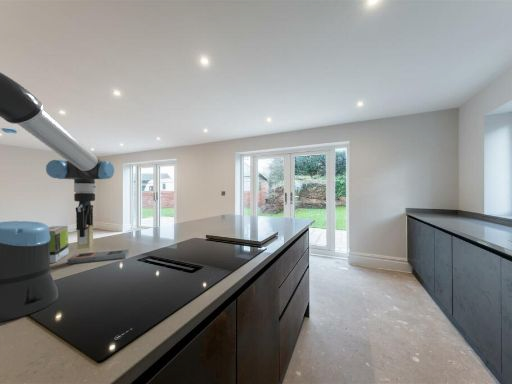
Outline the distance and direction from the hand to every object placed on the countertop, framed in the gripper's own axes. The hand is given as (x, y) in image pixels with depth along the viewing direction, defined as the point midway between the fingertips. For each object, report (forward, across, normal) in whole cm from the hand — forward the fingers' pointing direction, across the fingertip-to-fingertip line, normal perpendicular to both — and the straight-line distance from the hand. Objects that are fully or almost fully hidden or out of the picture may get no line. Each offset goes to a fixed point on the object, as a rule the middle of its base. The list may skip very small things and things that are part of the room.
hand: (85, 242), depth 97 cm
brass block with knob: (+2, 0, 0) cm, 2 cm away
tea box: (+8, +7, +16) cm, 19 cm away
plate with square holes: (+8, 0, -6) cm, 10 cm away
